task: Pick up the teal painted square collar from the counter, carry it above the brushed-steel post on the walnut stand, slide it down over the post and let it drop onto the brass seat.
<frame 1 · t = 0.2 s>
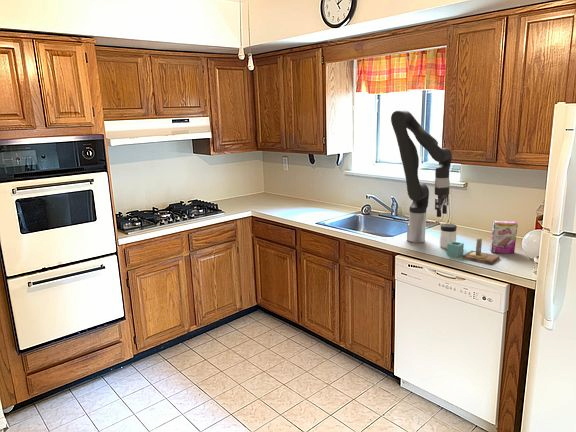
hand: (441, 215, 238), 17 cm above the worktop, tool pointing down, fingers open, 8 cm apart
collar: (454, 254, 228), on the worktop
candy bar box: (502, 252, 229), on the worktop
post stand: (477, 258, 221), on the worktop
jar: (447, 246, 241), on the worktop
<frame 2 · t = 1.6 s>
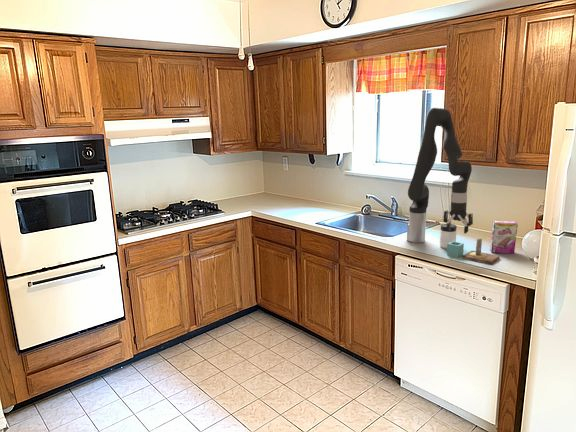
hand: (457, 231, 225), 12 cm above the worktop, tool pointing down, fingers open, 8 cm apart
nothing on the worktop moved.
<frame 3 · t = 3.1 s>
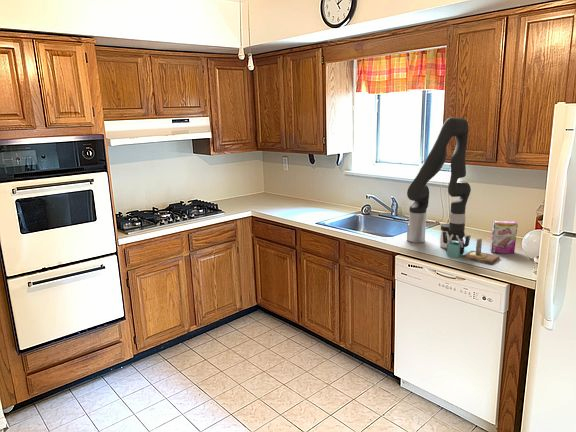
hand: (455, 252, 227), 1 cm above the worktop, tool pointing down, fingers closed on collar, 6 cm apart
collar: (454, 254, 228), on the worktop, touching gripper
everything else where it was.
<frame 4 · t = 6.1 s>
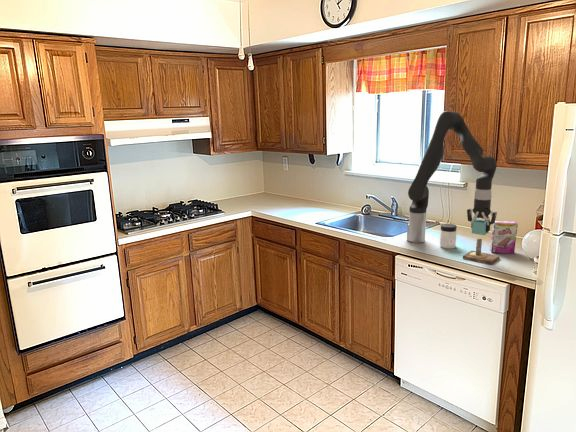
hand: (480, 230, 218), 14 cm above the worktop, tool pointing down, fingers closed on collar, 6 cm apart
collar: (480, 232, 218), point 13 cm above the worktop, touching gripper
everything else where it was.
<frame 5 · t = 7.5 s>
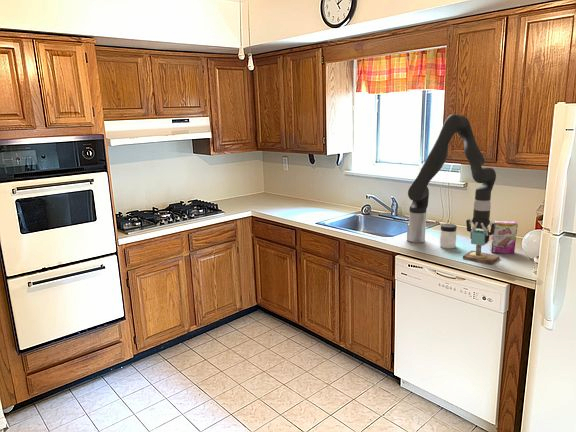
hand: (479, 241, 219), 9 cm above the worktop, tool pointing down, fingers closed on collar, 6 cm apart
collar: (479, 243, 220), point 8 cm above the worktop, touching gripper
everything else where it was.
when the fingers open (4 cm above the worktop, at t = 9.0 s): collar drops 1 cm, resting on post stand.
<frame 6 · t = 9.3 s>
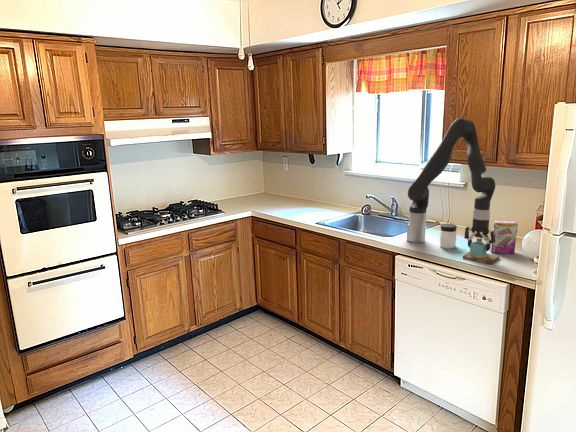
hand: (478, 248, 220), 5 cm above the worktop, tool pointing down, fingers open, 8 cm apart
collar: (478, 254, 221), point 2 cm above the worktop, touching post stand
everything else where it was.
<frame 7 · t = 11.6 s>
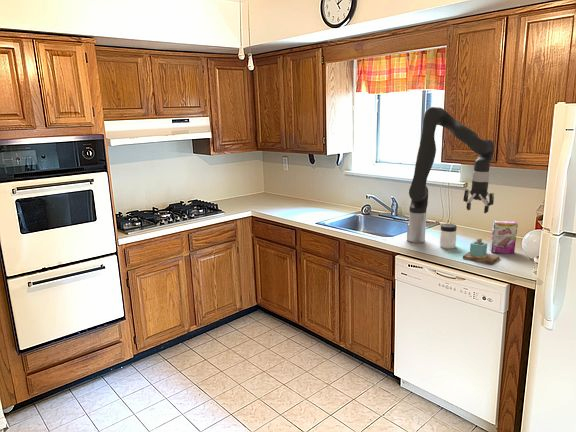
hand: (477, 211, 223), 23 cm above the worktop, tool pointing down, fingers open, 8 cm apart
nothing on the worktop moved.
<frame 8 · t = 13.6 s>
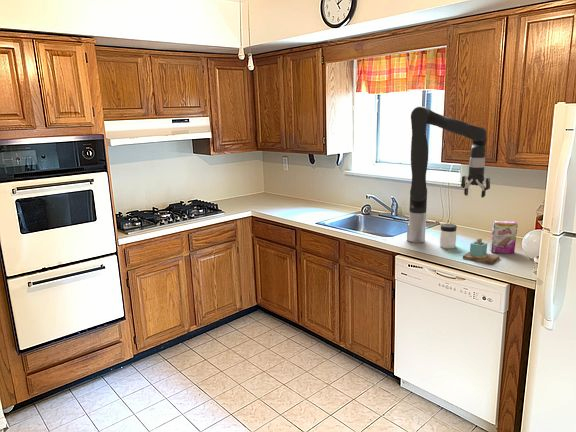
hand: (474, 196, 233), 28 cm above the worktop, tool pointing down, fingers open, 8 cm apart
nothing on the worktop moved.
at the end: collar 0.1 cm off-centre on the post stand, point 1.8 cm above the post stand's base; collar tilted 0°; the gripper is holding nothing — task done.
